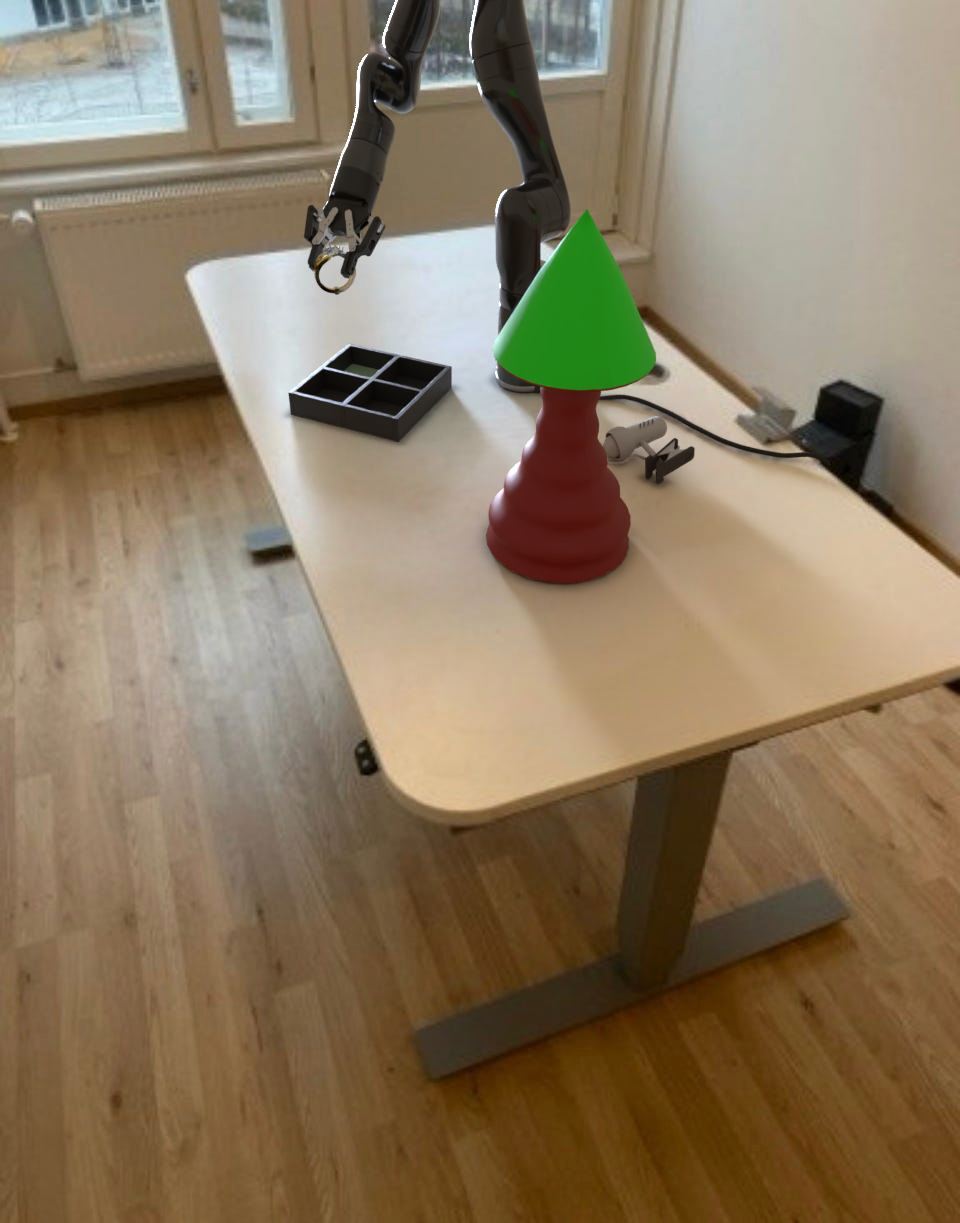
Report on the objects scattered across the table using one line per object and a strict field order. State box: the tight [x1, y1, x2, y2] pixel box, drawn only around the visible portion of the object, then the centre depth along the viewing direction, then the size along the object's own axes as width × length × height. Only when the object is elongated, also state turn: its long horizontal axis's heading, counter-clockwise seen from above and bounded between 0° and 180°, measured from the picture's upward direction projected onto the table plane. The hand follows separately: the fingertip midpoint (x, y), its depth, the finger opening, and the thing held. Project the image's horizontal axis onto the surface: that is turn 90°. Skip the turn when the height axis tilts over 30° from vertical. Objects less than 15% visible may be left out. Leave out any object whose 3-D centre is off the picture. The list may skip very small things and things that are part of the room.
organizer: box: [287, 343, 453, 443], centre depth 162 cm, size 20×20×4 cm
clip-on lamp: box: [602, 415, 696, 485], centre depth 147 cm, size 12×6×18 cm
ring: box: [313, 244, 357, 296], centre depth 161 cm, size 7×3×8 cm, turn 106°
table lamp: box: [485, 208, 657, 584], centre depth 120 cm, size 20×20×45 cm
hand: (328, 272), depth 159 cm, fingers closed on ring, 5 cm apart
